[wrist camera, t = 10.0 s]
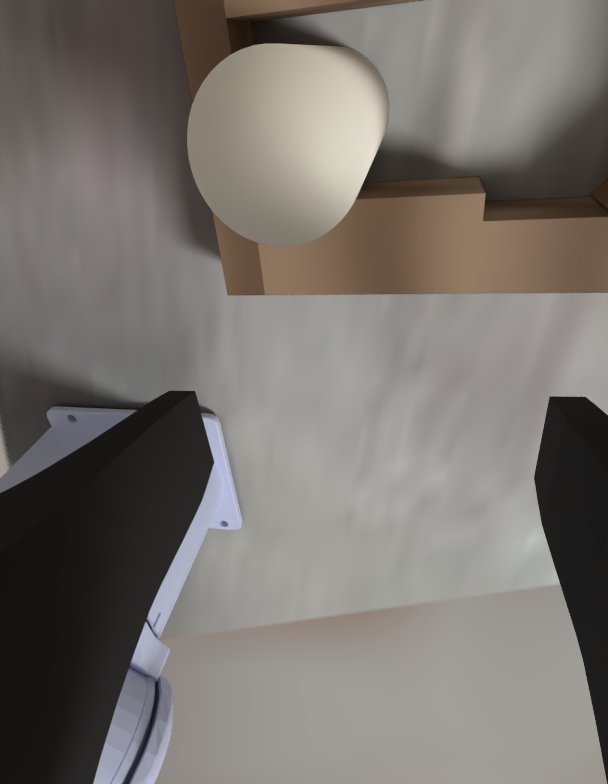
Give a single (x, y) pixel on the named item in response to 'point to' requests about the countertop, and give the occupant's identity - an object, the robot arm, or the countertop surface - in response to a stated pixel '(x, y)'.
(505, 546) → the countertop surface
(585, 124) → the countertop surface
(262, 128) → the cream peg
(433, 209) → the keyhole board
